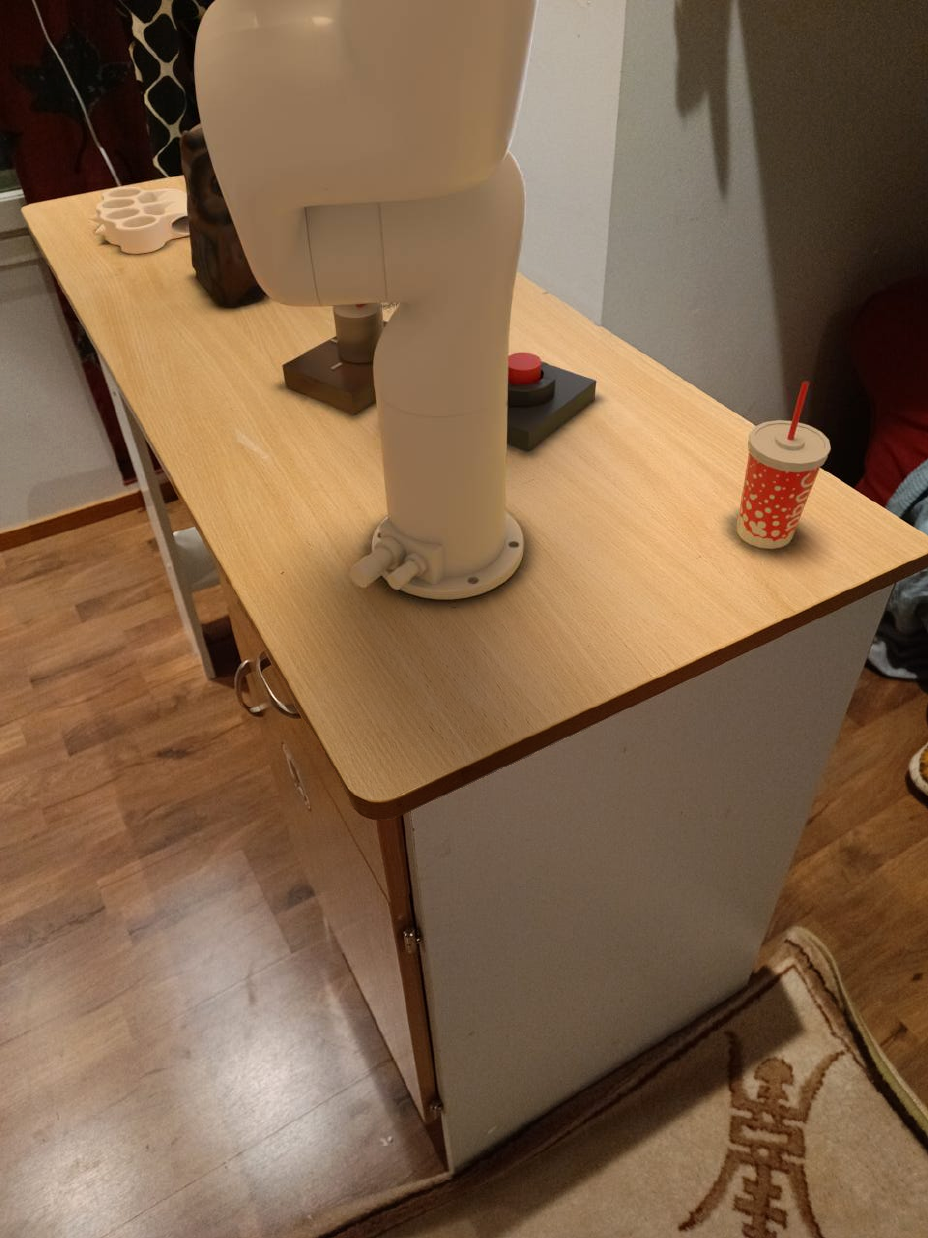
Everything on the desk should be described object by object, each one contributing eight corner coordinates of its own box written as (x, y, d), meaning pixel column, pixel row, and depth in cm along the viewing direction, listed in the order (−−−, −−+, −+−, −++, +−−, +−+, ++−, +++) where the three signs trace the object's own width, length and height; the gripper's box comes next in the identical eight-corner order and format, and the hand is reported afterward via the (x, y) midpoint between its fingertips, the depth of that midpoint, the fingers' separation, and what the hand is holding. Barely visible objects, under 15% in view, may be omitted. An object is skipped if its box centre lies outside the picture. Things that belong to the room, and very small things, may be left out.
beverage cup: (756, 562, 71) (799, 411, 62) (712, 520, 75) (746, 372, 66) (817, 542, 73) (868, 392, 63) (771, 502, 77) (812, 355, 67)
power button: (527, 390, 85) (527, 373, 84) (497, 379, 86) (497, 362, 85) (547, 375, 87) (548, 358, 86) (518, 364, 88) (518, 348, 87)
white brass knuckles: (210, 241, 123) (103, 260, 118) (185, 201, 134) (86, 217, 130) (205, 216, 120) (95, 235, 116) (179, 177, 132) (79, 193, 128)
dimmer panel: (354, 415, 89) (351, 392, 87) (285, 386, 93) (281, 363, 91) (440, 361, 97) (439, 338, 95) (373, 336, 101) (371, 314, 99)
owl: (291, 262, 117) (264, 92, 103) (303, 302, 108) (276, 122, 94) (194, 274, 115) (154, 102, 101) (199, 315, 106) (155, 133, 92)
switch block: (528, 452, 84) (529, 415, 81) (446, 419, 88) (445, 383, 85) (594, 399, 90) (598, 364, 87) (515, 371, 95) (516, 336, 92)
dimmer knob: (363, 368, 91) (358, 319, 87) (328, 354, 93) (322, 306, 89) (395, 349, 93) (391, 301, 90) (360, 336, 96) (355, 289, 92)
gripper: (374, 42, 64) (392, 285, 77) (500, 5, 72) (498, 231, 85) (304, 28, 68) (333, 263, 81) (432, -6, 76) (440, 213, 89)
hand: (418, 246), depth 83 cm, fingers closed
